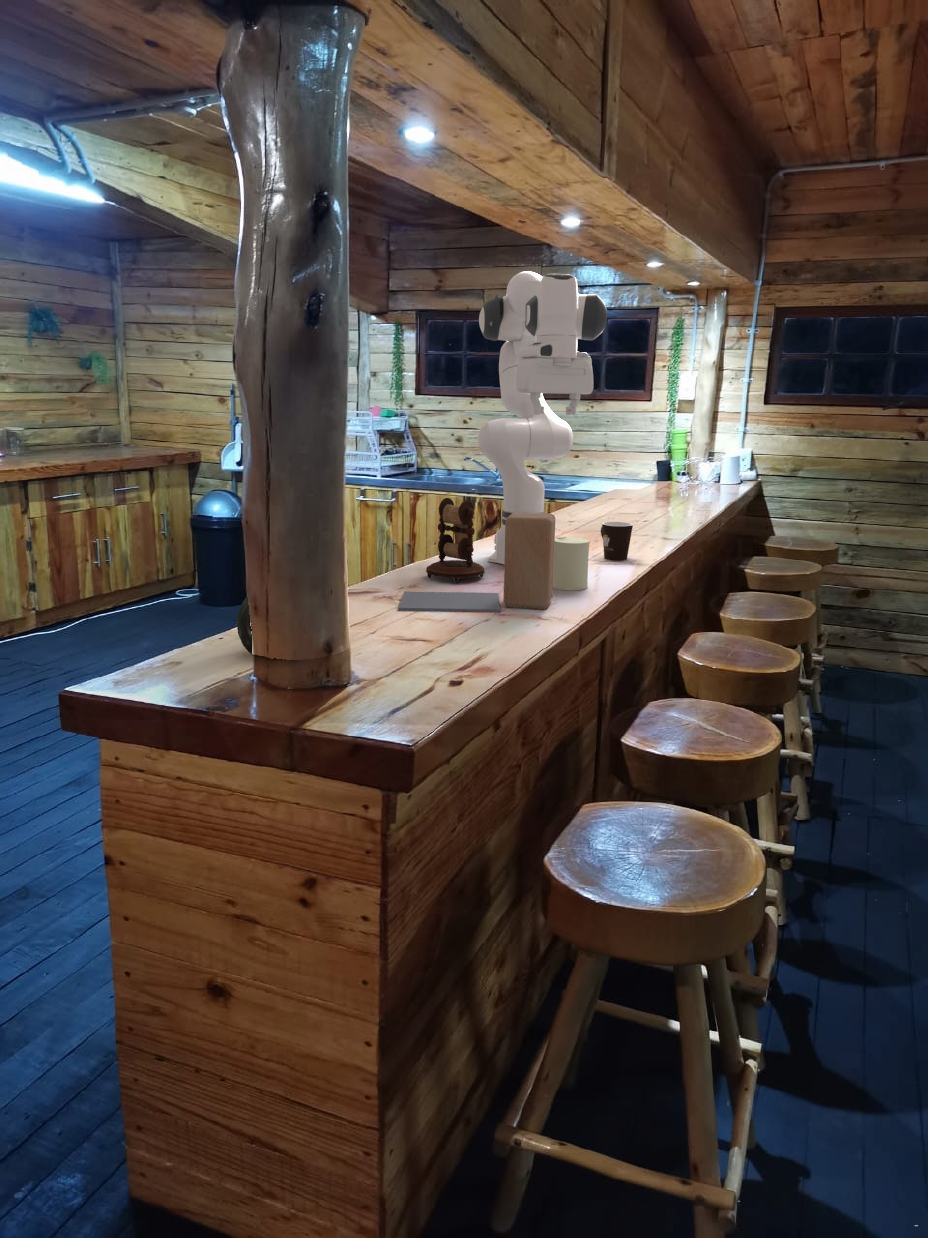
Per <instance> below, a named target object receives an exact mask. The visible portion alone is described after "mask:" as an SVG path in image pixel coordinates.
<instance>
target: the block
mask: <svg viewBox="0 0 928 1238" xmlns="http://www.w3.org/2000/svg"><path fill="white" fill-rule="evenodd" d="M555 538H556V517H555V514H553V513H547V512H545V513H522V512H515V513H512V514H511V515H510V516H509V517H508V518H507V519H506V521H505V559H504V564H503V567H504V569H503V600H502V601H503V605H504V607H506V608H513V609H514V608H515V609H531V610H546V609H548V608H549V606H550V603H551V601H552V599H553V592H554V591H553V589H554V588H553V569H554V544H555Z"/></svg>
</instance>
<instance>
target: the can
mask: <svg viewBox="0 0 928 1238" xmlns="http://www.w3.org/2000/svg"><path fill="white" fill-rule="evenodd" d="M590 543H591V541H590V539H588V538H585V537H584V538H583V537H579V536H577V537H576V536H575V537H574V536H560V537H555V544H554V569H553V589H555V590H559V591H568V592H569V591H575V592H576V591H583V590H587V589H588V587H589V586H588V576H589V575H588V574H589V569H588V568H589V555H590V553H589V552H590Z"/></svg>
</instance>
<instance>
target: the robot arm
mask: <svg viewBox="0 0 928 1238" xmlns="http://www.w3.org/2000/svg"><path fill="white" fill-rule="evenodd" d="M607 320H608V309H607V306H606V304H605V301H604V300H603V299H602V297H600V296H599V295H598V294H596V293H592V294H590V293H589V294H588V293H587V294H580V293H579V292H578V281H577V278H576V276H574V275H573V274H568V273H566V274H565V273H546V274H543V276H542V275H540V274H538V273H536V272H533V271H521V272H519V273H517V274H515V275H513V276H512V278H510V280H509V281H508V284H507V287H506V294H505V296H503V295H502V296H499V294H496V295H495V296H494V297H493V298H491V299H489V300H487V301H486V302H485V303H484V304H483V305H482V307H481V310H480V312H479V317H478V323H479V328H480V331H481V334H482V336H483V337H484V339H486V340H489V341H493V342H495V341H496V342H497V341H504V343H503V344H502V346H501V347H500V351H499V360H498V361H499V362H498V375H499V376H498V377H499V385H500V386H499V387H500V397H501V403H502V405H503V406H504V408H505V409H506V411H508V412H510V413H511V414H513V415H515V416H517V417H518V418H516V417H515V418H514V417H510V418H509V417H507V418H505V417H504V418H503V417H501V418H496V419H491V420H487V421H485V422H484V423H483V424H482V426H481V427H480V429H479V431H478V435H477V443H478V446H479V450H480V452H481V453H482V454H483V456H485V458H487V459H488V460H489V461H490V462H491V463H492V464H493V465H494V466H495V468H496V469H497V471H498V473H499V475H500V477H501V482H502V490H503V510H502V511H501V524H502V525H501V527H500V528H499V529H498V530H497V531H496V532H495V533H496V534H495V535H494V540H493V543H494V544H495V545H494V552H493V553H492V554H491V555H490V556H489V557H488V558H487V559H488V560H487V562H490V563H498V564H501V565H504V559H505V521H506V519H507V518H508V517H509V516H510V515H511V514H512V513H515V512H522V513H546V511H545V489H546V488H545V483H544V481H543V479H542V478H541V477H539V476H537V475H536V474H534V473H532V472H530V471H528V470H527V469H526V468H525V465H524V461H551V460H556V459H561V458H565V457H566V456H568V454H569V453H570V451H571V449H572V448H573V444H574V433H573V430H572V427H571V426H570V425H569V424H568V422H567V421H565V420H563V419H561V418H560V417H559V416H557V415H556V414H555V413H554V411H553V410H552V409H551V408H550V407H549V405H548V403H547V402H546V400H545V398H544V395H543V394H554V395H555V394H559V395H561V394H563V395H569V400H570V402H569V405H568V406H566V407H565V415H567V416H575V415H576V414H577V413H576V412H577V407H578V404H579V402H580V401H581V395H591V394H592V393H593V390H594V373H593V372H594V371H593V365H592V363H593V362H592V361H593V360H592V358H591V356H590V355H589V354H588V353H587V352H586V351H585V352H580V351H578V340H584V341H594V340H595V339H597V338H598V337H599V336H600V335H601V334H602V333H603V332H604V330H605V328H606V325H607Z"/></svg>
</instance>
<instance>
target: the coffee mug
mask: <svg viewBox="0 0 928 1238" xmlns="http://www.w3.org/2000/svg"><path fill="white" fill-rule="evenodd" d="M601 525H602V526H601V528H600V535H601V538H602V544H603V558H604V560H607V561H612V562H613V561H614V562H624V561H627V560H628V555H629V549H630V544H631V537H632V531H633V527H634V524H633V523H631V522H625V521H604V522H602V523H601Z"/></svg>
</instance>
